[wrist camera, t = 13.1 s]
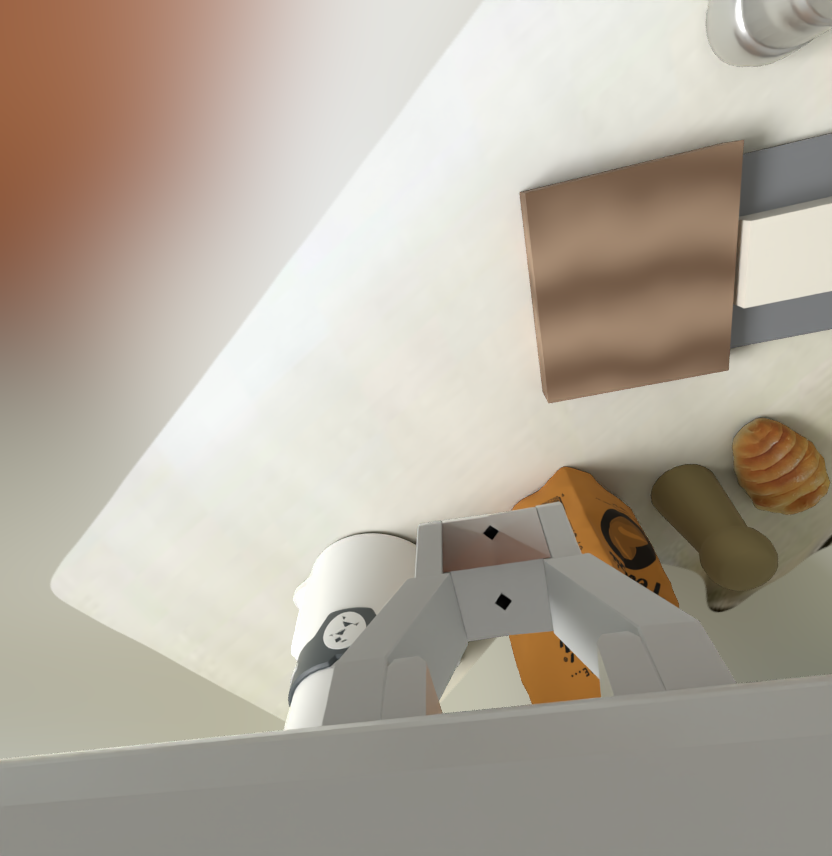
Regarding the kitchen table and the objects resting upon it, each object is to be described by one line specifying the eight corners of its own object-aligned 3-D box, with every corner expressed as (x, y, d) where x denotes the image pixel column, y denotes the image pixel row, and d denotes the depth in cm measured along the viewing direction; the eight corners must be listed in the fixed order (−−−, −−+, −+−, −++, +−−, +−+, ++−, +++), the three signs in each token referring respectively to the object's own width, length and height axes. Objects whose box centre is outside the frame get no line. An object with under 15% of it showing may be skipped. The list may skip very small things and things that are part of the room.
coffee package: (640, 506, 47) (785, 736, 27) (547, 578, 52) (615, 820, 32) (568, 449, 44) (673, 658, 25) (478, 530, 49) (506, 761, 30)
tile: (852, 275, 36) (880, 281, 34) (725, 300, 37) (744, 308, 35) (867, 188, 34) (898, 188, 31) (730, 218, 35) (750, 221, 33)
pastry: (705, 443, 44) (728, 464, 40) (777, 397, 42) (808, 416, 38) (753, 506, 47) (778, 531, 43) (823, 466, 45) (855, 490, 41)
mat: (900, 312, 38) (907, 314, 37) (719, 347, 40) (723, 349, 39) (946, 105, 32) (955, 103, 31) (729, 157, 34) (734, 156, 33)
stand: (712, 359, 40) (728, 370, 38) (542, 391, 42) (548, 403, 40) (723, 142, 33) (743, 139, 31) (519, 192, 35) (525, 193, 33)
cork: (720, 459, 44) (800, 538, 35) (714, 512, 47) (787, 599, 37) (651, 468, 45) (711, 548, 35) (649, 520, 48) (705, 607, 38)
